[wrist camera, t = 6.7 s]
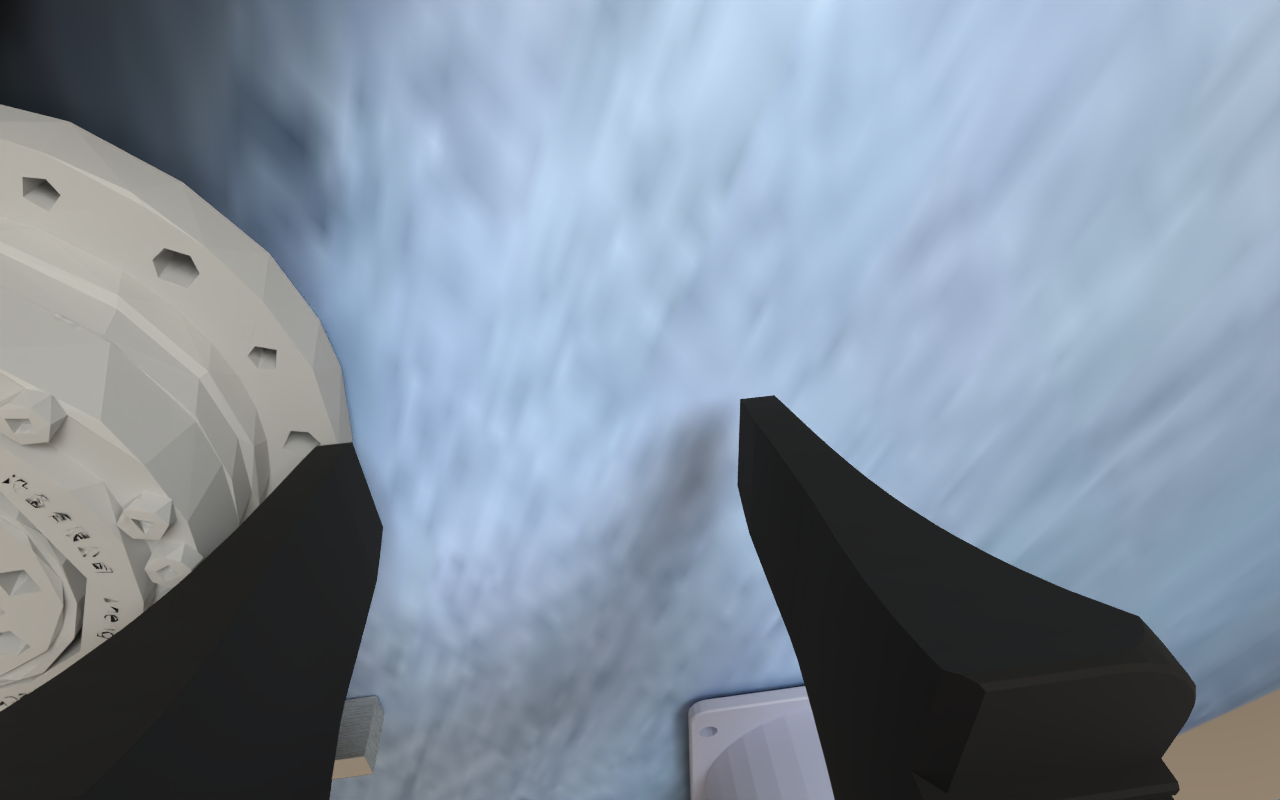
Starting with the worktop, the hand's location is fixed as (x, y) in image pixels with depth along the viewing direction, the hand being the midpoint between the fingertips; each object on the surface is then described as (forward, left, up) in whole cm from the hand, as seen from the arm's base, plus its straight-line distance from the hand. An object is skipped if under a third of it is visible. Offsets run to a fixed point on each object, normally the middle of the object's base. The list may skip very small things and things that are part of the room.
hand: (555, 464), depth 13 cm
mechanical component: (+2, +9, -2) cm, 9 cm away
